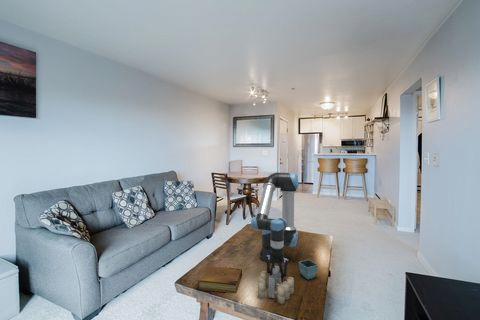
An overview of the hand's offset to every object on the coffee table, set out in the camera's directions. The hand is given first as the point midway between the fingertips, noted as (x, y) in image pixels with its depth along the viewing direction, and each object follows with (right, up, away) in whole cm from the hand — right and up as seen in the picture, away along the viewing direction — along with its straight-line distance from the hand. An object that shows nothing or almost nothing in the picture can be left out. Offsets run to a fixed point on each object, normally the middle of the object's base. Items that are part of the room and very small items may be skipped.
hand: (276, 286), depth 137 cm
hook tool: (-2, -1, -4) cm, 5 cm away
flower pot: (+22, -1, +13) cm, 26 cm away
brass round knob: (-3, -2, -6) cm, 7 cm away
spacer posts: (-3, -1, -6) cm, 7 cm away
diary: (-33, -2, +7) cm, 34 cm away
